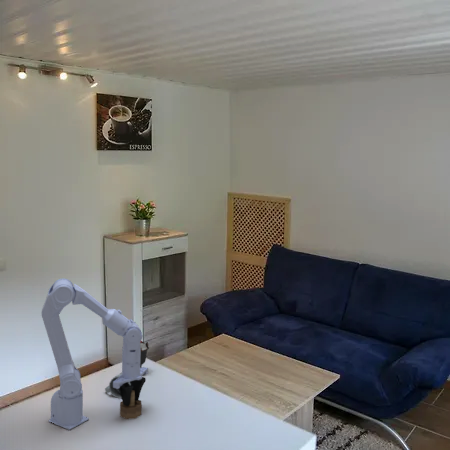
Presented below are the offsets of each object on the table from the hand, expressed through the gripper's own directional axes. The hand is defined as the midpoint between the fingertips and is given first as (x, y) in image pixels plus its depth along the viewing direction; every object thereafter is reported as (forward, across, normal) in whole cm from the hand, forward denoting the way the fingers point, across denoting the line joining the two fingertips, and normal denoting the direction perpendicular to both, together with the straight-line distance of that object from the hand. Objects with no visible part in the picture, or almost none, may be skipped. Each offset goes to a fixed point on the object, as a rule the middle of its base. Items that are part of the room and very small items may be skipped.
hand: (130, 402), depth 155 cm
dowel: (+4, 0, 0) cm, 4 cm away
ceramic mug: (+4, +10, +13) cm, 17 cm away
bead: (+4, 0, 0) cm, 4 cm away
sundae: (+4, +27, +19) cm, 33 cm away
